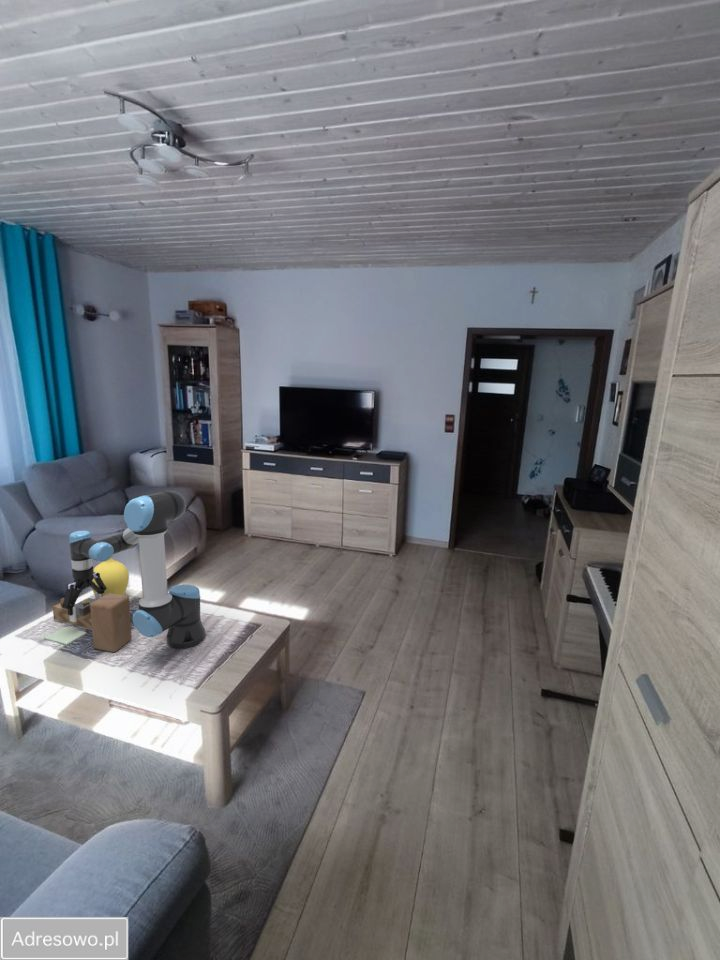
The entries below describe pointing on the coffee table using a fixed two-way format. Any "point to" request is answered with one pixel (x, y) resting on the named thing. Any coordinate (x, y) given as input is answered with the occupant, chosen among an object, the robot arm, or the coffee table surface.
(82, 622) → the body
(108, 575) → the vase
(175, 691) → the coffee table surface
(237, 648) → the coffee table surface
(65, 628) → the felt mat
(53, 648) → the coffee table surface
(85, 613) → the lever cap
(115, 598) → the wooden block
